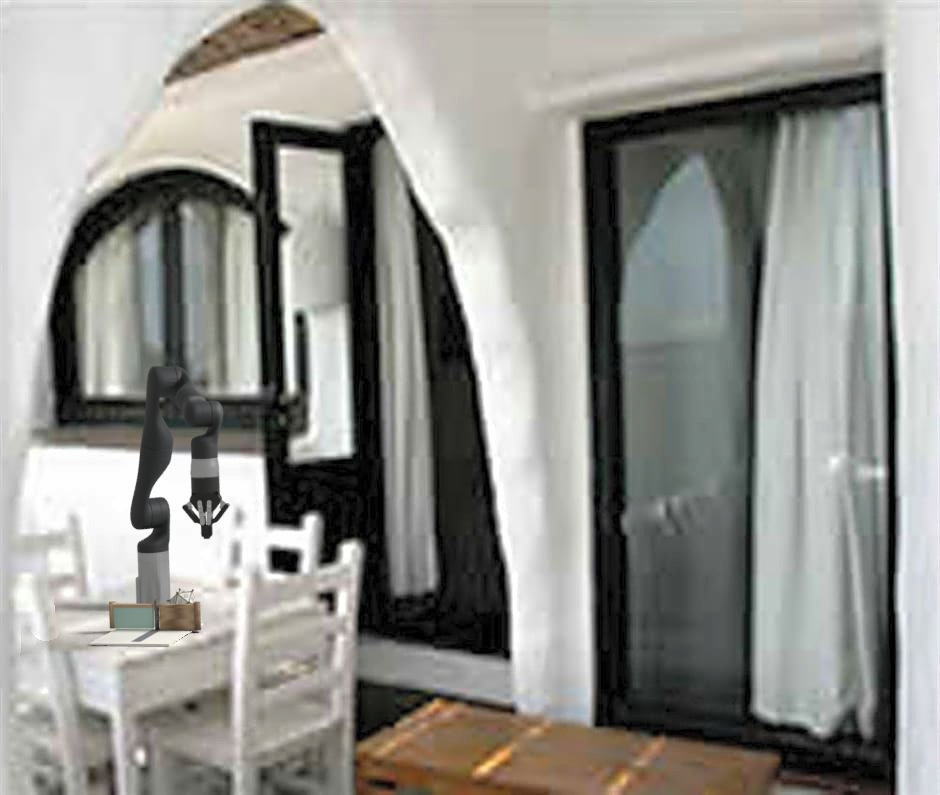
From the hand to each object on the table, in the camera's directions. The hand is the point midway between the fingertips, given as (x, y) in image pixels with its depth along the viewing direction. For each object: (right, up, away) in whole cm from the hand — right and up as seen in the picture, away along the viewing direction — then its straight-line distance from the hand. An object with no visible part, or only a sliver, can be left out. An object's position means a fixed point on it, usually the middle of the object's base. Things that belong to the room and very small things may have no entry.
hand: (206, 538), depth 316 cm
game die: (-12, -26, +23) cm, 37 cm away
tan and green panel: (-22, -25, +6) cm, 34 cm away
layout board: (-16, -26, +1) cm, 31 cm away
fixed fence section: (-9, -25, +4) cm, 27 cm away
